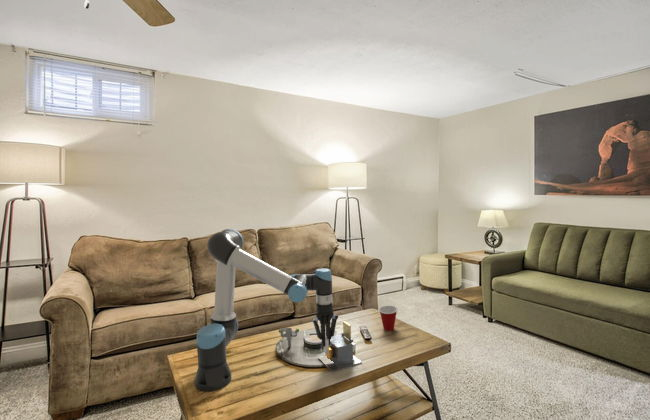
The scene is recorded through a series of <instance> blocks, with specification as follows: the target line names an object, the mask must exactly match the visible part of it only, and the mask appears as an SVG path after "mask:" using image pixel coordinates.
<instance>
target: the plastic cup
mask: <svg viewBox="0 0 650 420" xmlns="http://www.w3.org/2000/svg"><path fill="white" fill-rule="evenodd" d="M378 312H379V314H380V319H381V323H382V327H383V330H384V331H387V332H390V331H391V332H392V331H394V329H395V325H396V318H397V317H396V316H397V312H398V308H397V306H393V305H383V306H380V307H379V308H378Z"/></svg>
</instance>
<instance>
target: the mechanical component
mask: <svg viewBox="0 0 650 420" xmlns="http://www.w3.org/2000/svg"><path fill="white" fill-rule="evenodd" d="M299 332H300V329H299V328H295V330H293V329H292V327H280V329H278V333H280V337H281V338H286V340H287V348H288V347H291V348H292V338H296V337H297V336H298V333H299Z"/></svg>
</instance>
